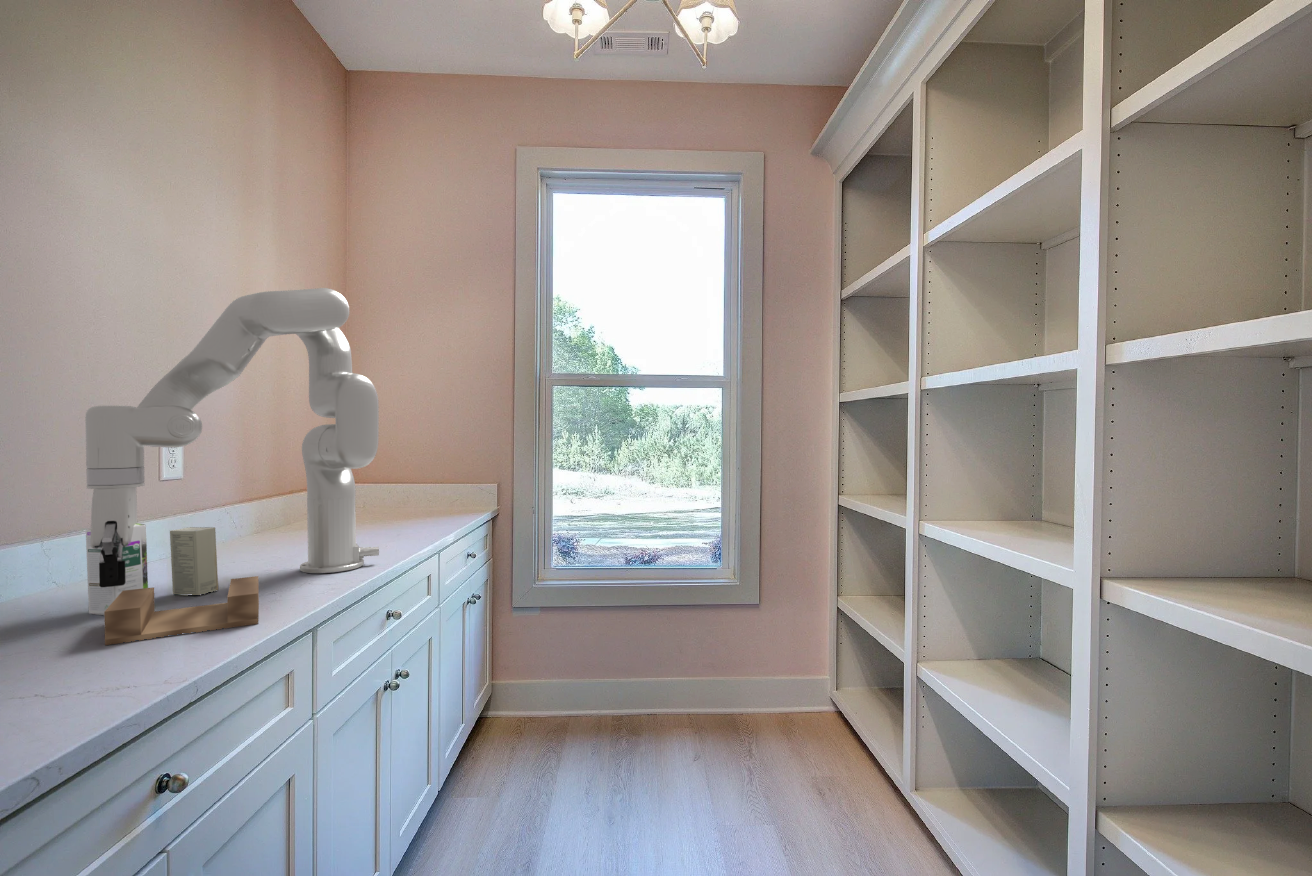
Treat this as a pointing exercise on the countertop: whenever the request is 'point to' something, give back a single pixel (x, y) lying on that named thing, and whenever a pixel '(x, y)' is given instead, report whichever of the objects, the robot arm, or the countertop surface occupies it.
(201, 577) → the skincare box
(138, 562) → the syrup box
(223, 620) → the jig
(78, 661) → the countertop surface
